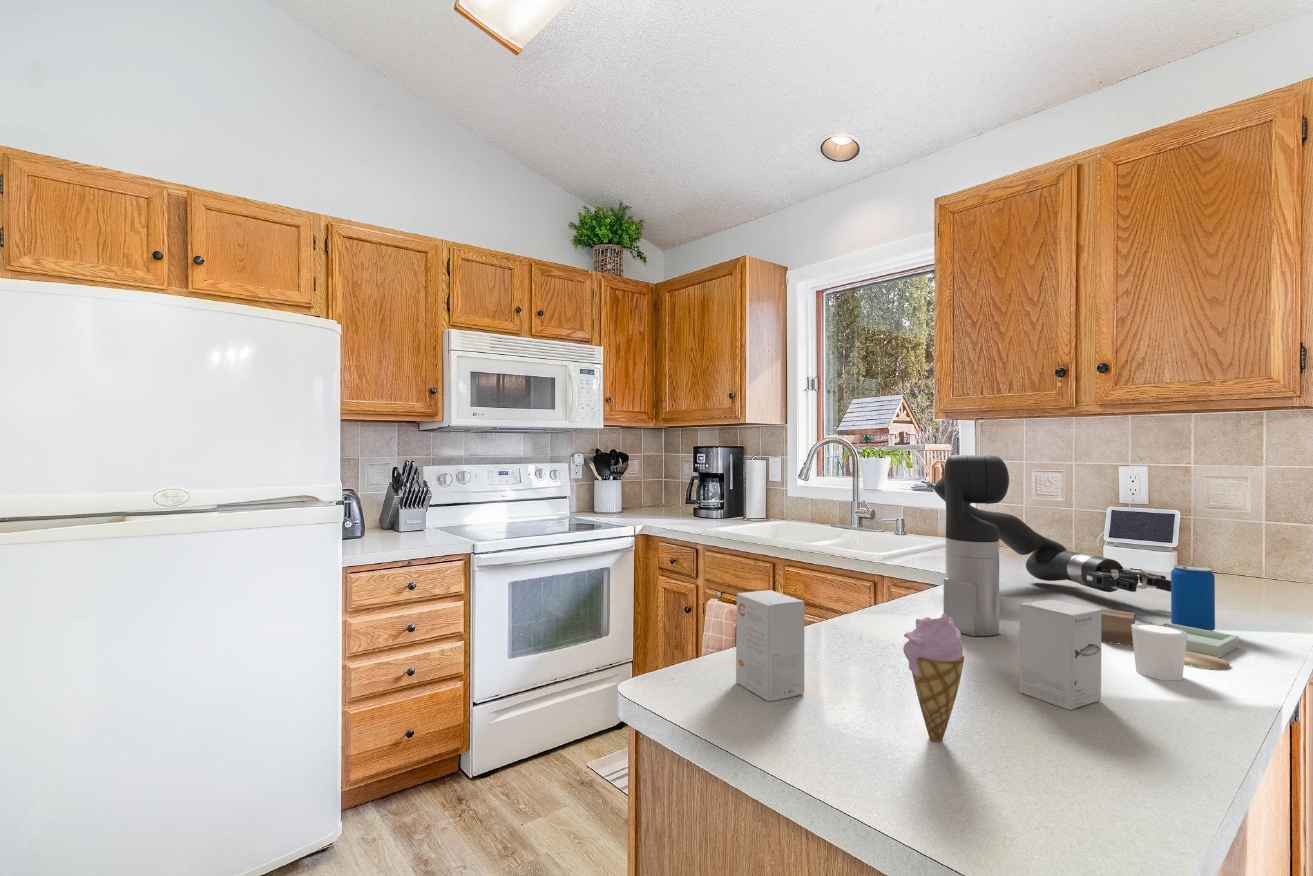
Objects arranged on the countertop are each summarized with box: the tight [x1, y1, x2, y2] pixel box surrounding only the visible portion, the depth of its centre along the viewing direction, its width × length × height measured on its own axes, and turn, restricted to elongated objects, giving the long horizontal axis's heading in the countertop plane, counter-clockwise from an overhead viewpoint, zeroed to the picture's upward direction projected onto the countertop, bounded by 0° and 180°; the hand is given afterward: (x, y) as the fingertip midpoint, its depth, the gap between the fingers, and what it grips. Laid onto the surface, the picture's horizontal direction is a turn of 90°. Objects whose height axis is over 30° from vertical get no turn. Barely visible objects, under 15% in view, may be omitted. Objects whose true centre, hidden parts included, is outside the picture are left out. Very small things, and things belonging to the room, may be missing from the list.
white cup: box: [1131, 622, 1187, 681], centre depth 98 cm, size 7×7×7 cm
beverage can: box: [1170, 564, 1216, 631], centre depth 123 cm, size 6×6×12 cm
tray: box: [1155, 621, 1240, 658], centre depth 113 cm, size 11×11×2 cm
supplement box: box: [1018, 599, 1102, 711], centre depth 88 cm, size 7×7×13 cm
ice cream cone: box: [902, 612, 965, 743], centre depth 75 cm, size 7×6×15 cm
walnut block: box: [1100, 608, 1136, 647], centre depth 115 cm, size 5×5×5 cm
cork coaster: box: [1184, 651, 1230, 670], centre depth 104 cm, size 8×8×1 cm
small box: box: [735, 589, 805, 702], centre depth 90 cm, size 8×6×13 cm
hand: (1154, 587), depth 132 cm, fingers open, 8 cm apart
